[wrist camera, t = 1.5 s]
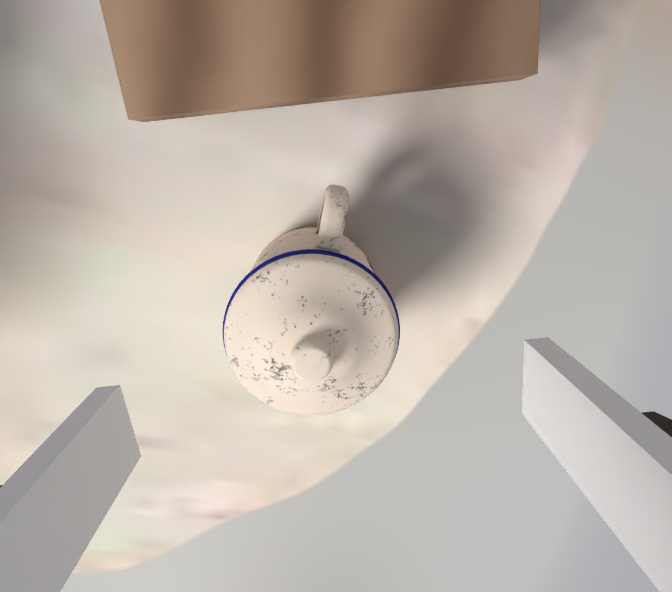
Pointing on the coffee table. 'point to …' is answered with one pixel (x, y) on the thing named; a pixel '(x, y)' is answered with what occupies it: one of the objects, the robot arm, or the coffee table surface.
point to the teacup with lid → (312, 319)
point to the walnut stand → (309, 50)
